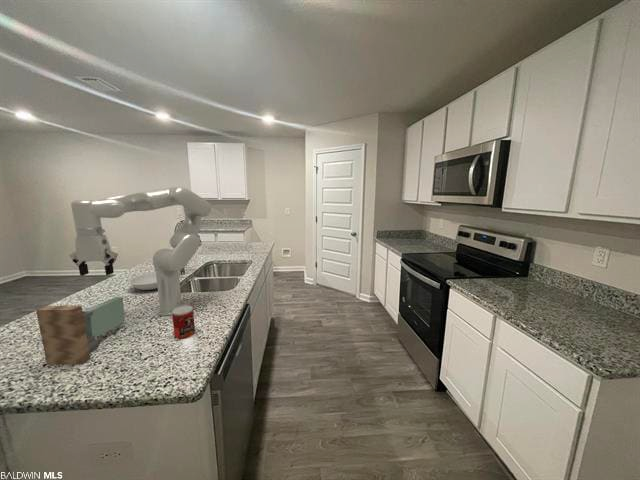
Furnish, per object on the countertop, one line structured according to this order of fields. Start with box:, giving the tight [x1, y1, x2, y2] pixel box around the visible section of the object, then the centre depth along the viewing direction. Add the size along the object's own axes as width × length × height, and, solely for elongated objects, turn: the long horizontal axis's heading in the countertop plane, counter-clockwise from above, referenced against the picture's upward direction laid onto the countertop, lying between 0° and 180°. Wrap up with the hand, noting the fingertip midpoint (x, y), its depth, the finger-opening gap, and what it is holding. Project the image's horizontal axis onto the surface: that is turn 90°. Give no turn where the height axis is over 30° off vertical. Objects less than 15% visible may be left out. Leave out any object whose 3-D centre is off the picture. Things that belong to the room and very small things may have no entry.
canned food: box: [171, 305, 196, 340], centre depth 103 cm, size 8×8×11 cm
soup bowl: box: [127, 271, 158, 291], centre depth 155 cm, size 24×24×7 cm
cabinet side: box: [35, 305, 100, 366], centre depth 88 cm, size 12×10×20 cm
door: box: [82, 296, 126, 343], centre depth 99 cm, size 5×21×11 cm, turn 1°
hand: (97, 274), depth 100 cm, fingers open, 9 cm apart
